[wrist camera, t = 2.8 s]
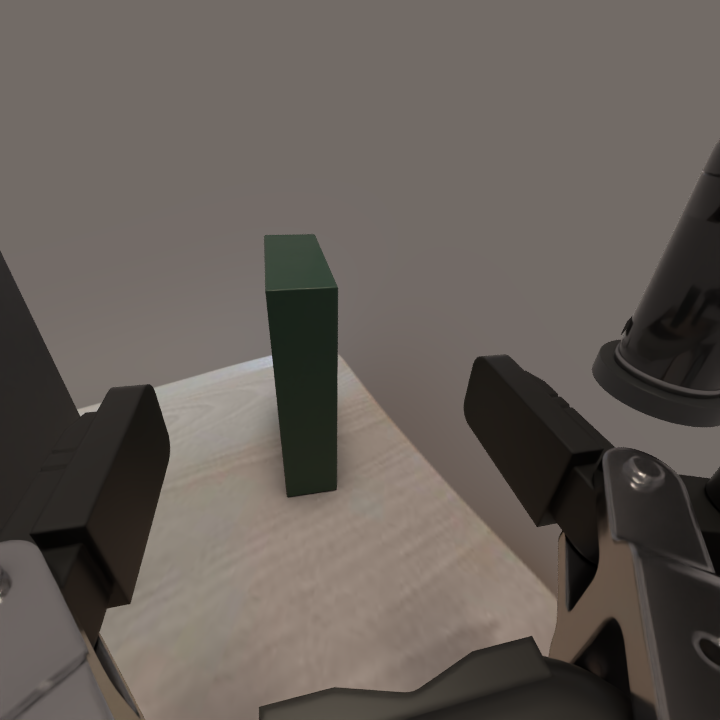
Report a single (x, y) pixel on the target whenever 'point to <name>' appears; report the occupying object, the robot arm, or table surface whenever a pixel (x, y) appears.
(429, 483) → the table surface
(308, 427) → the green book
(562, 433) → the robot arm
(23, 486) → the grey faceted block
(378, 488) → the table surface
